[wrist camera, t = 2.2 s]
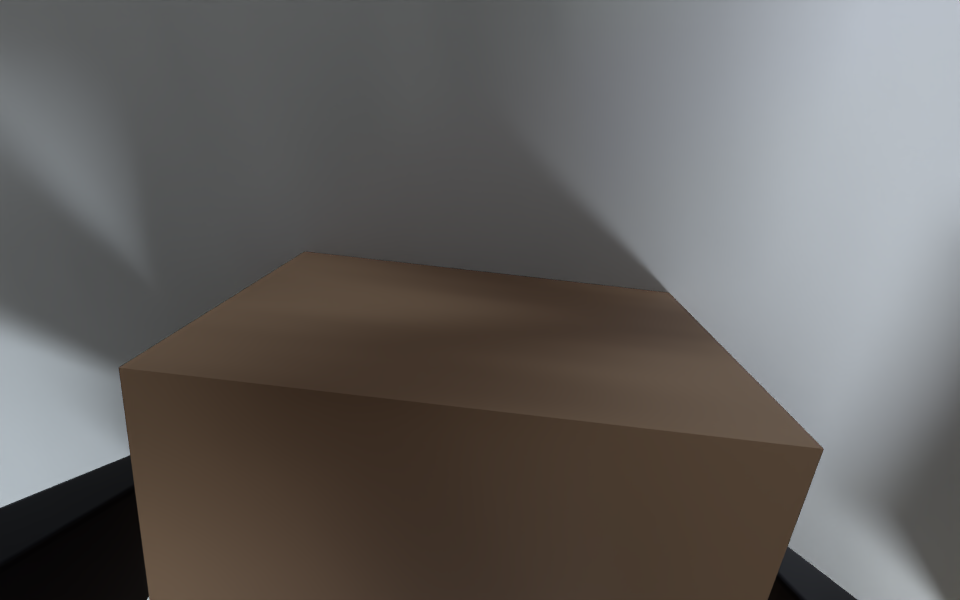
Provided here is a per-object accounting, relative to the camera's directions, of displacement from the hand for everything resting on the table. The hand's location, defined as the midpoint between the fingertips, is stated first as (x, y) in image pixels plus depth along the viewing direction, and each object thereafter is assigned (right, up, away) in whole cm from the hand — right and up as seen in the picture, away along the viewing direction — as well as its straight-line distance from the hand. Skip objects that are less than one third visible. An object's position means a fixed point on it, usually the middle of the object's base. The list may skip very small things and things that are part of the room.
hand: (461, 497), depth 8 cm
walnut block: (0, 0, +1) cm, 1 cm away
